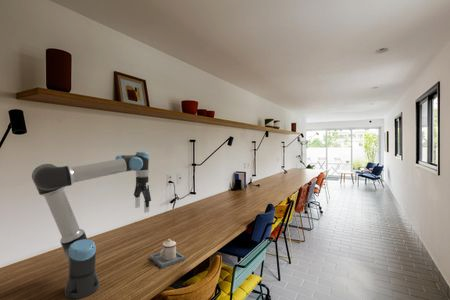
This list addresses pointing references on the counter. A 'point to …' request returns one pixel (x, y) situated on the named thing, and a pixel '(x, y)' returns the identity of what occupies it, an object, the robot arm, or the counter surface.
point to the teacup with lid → (168, 250)
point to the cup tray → (165, 263)
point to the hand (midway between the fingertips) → (141, 209)
